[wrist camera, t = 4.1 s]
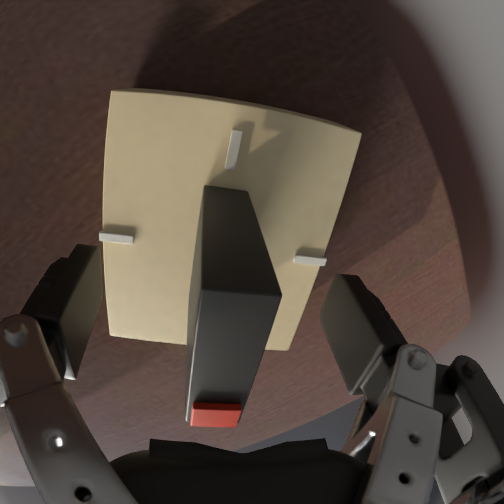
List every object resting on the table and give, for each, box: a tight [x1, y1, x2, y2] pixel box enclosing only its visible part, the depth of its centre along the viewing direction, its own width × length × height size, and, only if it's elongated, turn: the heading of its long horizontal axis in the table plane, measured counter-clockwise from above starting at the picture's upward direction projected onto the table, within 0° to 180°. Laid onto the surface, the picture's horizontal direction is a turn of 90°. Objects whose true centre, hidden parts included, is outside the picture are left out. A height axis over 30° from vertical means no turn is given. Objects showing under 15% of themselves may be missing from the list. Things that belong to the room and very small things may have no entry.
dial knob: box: [185, 185, 282, 427], centre depth 10 cm, size 5×2×6 cm, turn 168°
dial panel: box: [99, 88, 362, 350], centre depth 14 cm, size 11×9×3 cm
